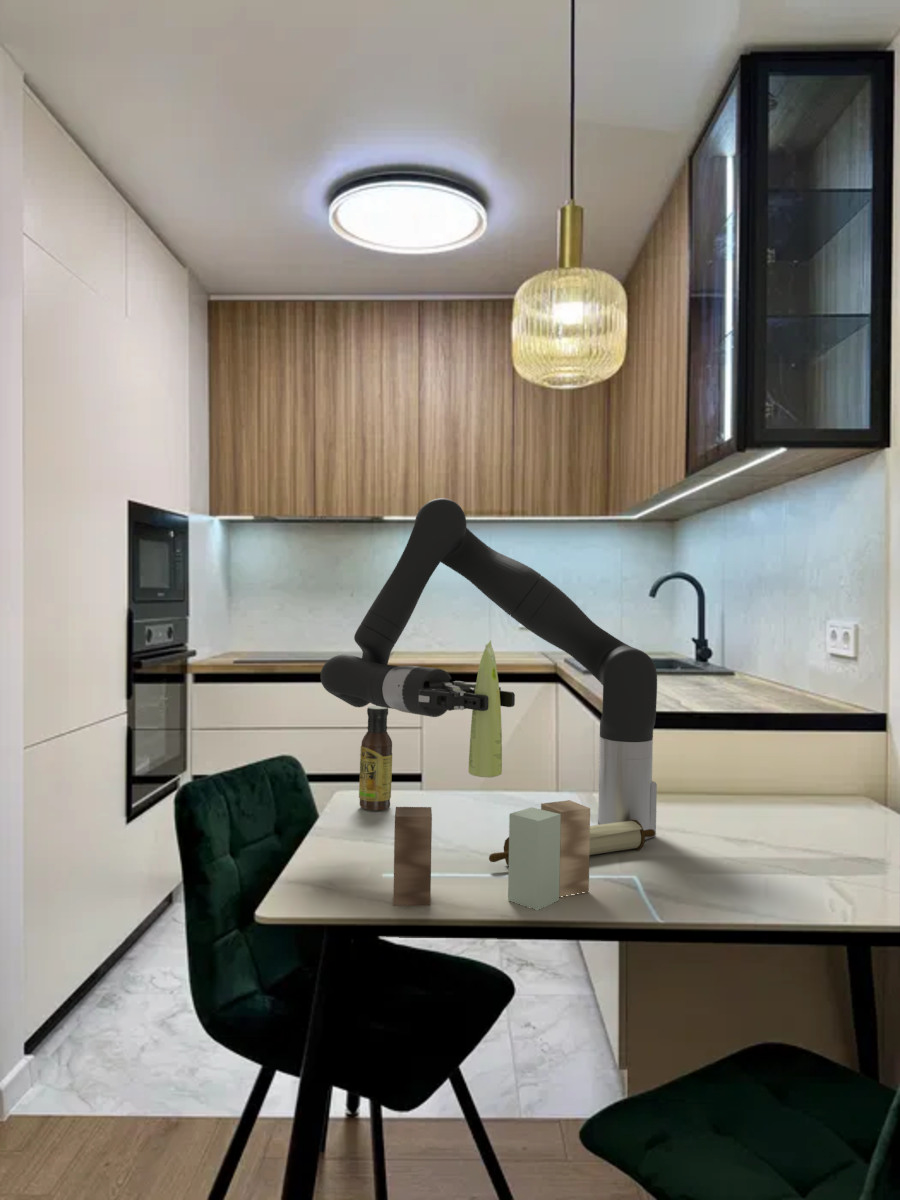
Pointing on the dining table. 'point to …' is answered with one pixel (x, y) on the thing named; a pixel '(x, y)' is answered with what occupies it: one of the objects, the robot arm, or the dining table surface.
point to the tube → (486, 721)
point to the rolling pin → (603, 839)
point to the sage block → (534, 857)
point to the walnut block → (412, 856)
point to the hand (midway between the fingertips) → (500, 701)
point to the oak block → (572, 845)
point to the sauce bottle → (376, 762)
